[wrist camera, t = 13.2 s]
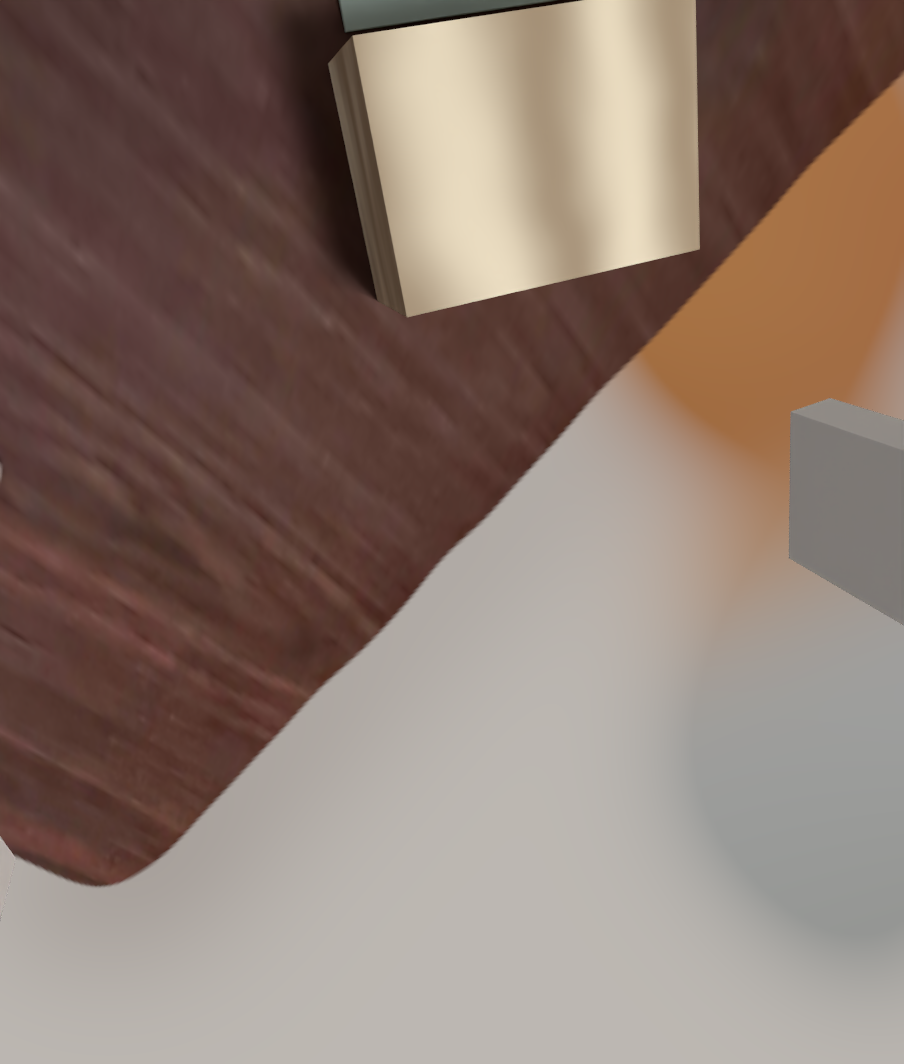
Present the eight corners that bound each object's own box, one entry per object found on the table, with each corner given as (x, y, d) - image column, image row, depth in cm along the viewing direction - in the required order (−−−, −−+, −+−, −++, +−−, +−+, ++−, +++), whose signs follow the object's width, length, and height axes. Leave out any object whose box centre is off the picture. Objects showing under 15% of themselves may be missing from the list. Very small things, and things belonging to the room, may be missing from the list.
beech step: (377, 300, 36) (406, 317, 31) (327, 63, 32) (352, 35, 26) (632, 243, 39) (699, 249, 34) (620, 17, 34) (695, -17, 29)
